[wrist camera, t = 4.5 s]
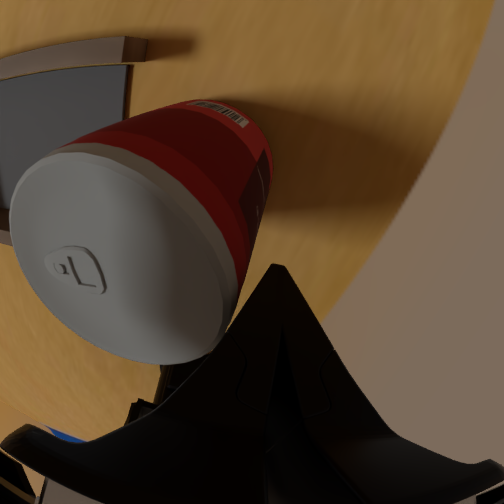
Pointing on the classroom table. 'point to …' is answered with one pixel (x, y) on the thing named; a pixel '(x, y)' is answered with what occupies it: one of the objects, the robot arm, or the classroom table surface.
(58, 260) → the canned food
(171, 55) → the classroom table surface
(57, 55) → the cradle
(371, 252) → the classroom table surface
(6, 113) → the mat
